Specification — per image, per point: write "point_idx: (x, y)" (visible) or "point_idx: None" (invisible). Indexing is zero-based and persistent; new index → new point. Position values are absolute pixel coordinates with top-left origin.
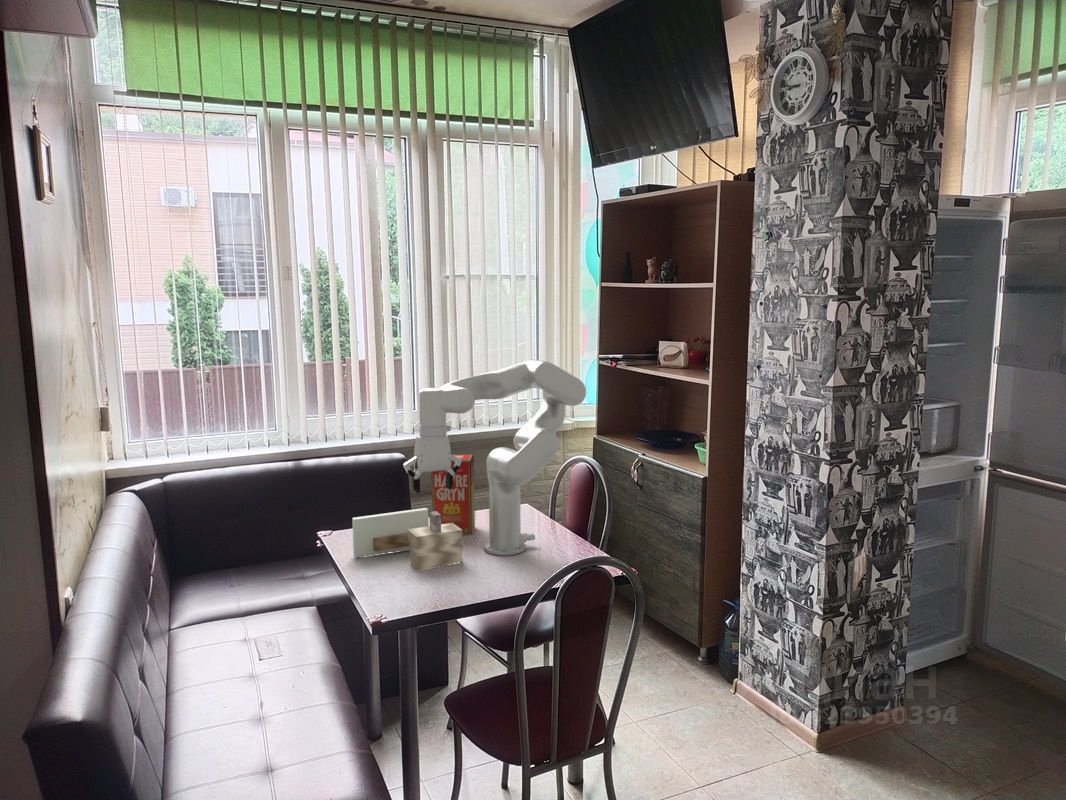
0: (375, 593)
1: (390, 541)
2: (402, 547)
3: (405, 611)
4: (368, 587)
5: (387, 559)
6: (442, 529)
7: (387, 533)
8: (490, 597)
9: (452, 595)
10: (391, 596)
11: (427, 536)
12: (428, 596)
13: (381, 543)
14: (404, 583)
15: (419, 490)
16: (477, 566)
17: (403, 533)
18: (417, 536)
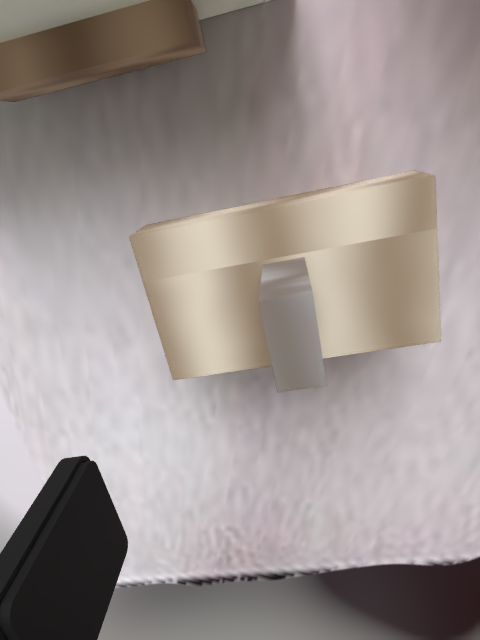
0: (69, 448)
1: (68, 77)
2: None
3: (151, 559)
4: (43, 402)
5: (86, 142)
6: (332, 301)
7: (30, 29)
8: (376, 554)
9: (280, 517)
10: (115, 477)
11: (233, 367)
12: (215, 505)
13: (23, 91)
14: (153, 405)
15: (116, 570)
16: None
17: (132, 4)
18: (180, 373)
